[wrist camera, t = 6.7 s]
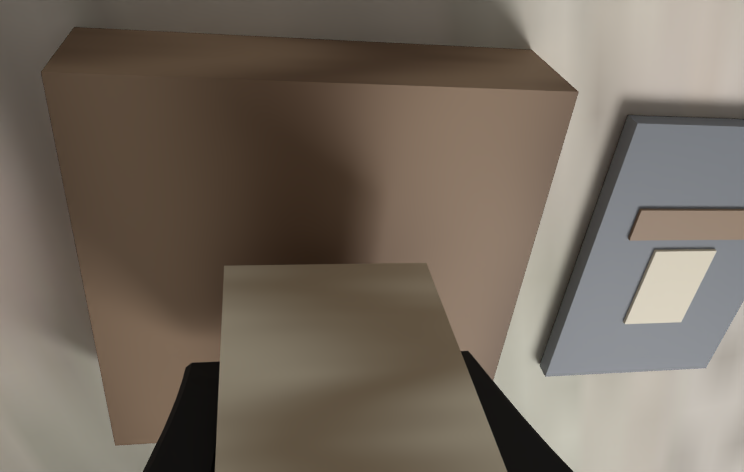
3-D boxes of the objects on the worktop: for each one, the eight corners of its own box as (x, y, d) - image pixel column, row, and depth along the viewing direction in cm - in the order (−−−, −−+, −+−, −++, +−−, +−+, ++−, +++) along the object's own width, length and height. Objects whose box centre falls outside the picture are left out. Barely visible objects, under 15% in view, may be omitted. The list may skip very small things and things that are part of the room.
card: (825, 122, 17) (842, 131, 17) (697, 357, 22) (707, 370, 22) (627, 115, 16) (639, 125, 16) (539, 365, 21) (546, 378, 21)
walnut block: (525, 44, 15) (578, 92, 13) (453, 347, 21) (481, 420, 18) (78, 21, 13) (41, 71, 11) (132, 361, 19) (115, 445, 16)
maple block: (426, 263, 13) (536, 546, 8) (400, 397, 15) (474, 684, 10) (224, 265, 12) (209, 582, 7) (228, 407, 14) (220, 722, 9)
